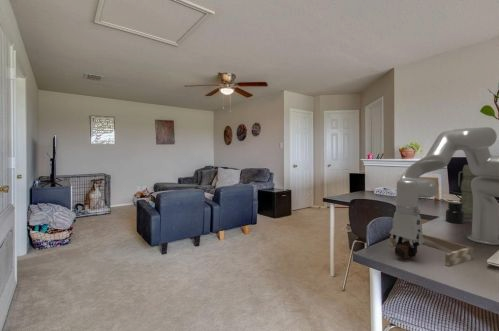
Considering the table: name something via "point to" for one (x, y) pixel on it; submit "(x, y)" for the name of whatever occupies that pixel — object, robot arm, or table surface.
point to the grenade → (466, 191)
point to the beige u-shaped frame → (445, 249)
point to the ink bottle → (455, 213)
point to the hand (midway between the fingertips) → (405, 253)
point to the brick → (403, 249)
